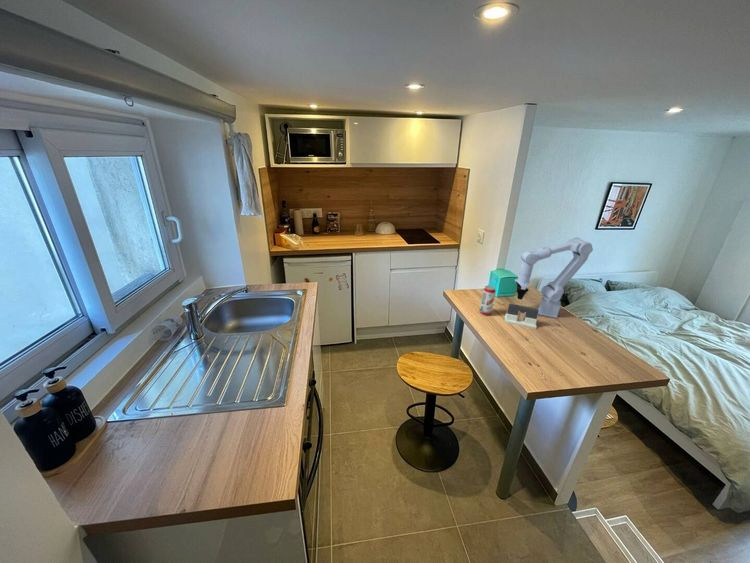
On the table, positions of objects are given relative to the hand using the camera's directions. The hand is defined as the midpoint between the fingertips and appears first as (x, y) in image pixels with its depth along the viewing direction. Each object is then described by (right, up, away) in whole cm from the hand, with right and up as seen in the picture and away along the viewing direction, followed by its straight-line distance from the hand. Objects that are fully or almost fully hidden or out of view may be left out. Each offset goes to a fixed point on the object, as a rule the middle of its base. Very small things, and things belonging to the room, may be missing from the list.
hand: (519, 296), depth 159 cm
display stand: (-2, -14, -5) cm, 15 cm away
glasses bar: (-2, -10, -6) cm, 12 cm away
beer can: (-18, -10, +3) cm, 21 cm away
